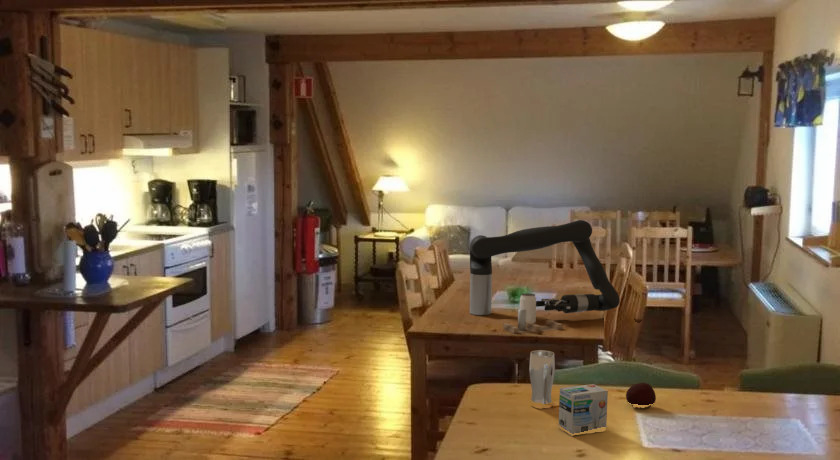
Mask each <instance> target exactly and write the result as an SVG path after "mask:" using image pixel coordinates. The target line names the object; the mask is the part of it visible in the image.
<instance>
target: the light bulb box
mask: <svg viewBox="0 0 840 460" xmlns="http://www.w3.org/2000/svg"><path fill="white" fill-rule="evenodd" d="M608 392H609V391H608V390H606V389H605V388H602V387H600V386H598V385H596V384H594V383H592V384H584V385H577V386H576V385H575V386H569V387H559V402H558V404H559V406H558V407H559V408H558V426H559V425H560V426H561V427H563V428H564V429H565V430H567V431H569V432H570V433H572V434H574V433H580V432H584V431H588V430H592V429H597V428H601V427H606V428H607V421H608V420H607V419H608V418H607V417H608V395H609V393H608Z"/></svg>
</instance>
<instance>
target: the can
mask: <svg viewBox="0 0 840 460" xmlns="http://www.w3.org/2000/svg"><path fill="white" fill-rule="evenodd" d="M536 301H537V297H536V294H535V293H531V292H530V293H528V292H527V293H521V294H520V298H519V309H526V322H532V323H534V324H536V321H537V317H536V316H537V307H536Z"/></svg>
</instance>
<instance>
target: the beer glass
mask: <svg viewBox="0 0 840 460" xmlns="http://www.w3.org/2000/svg"><path fill="white" fill-rule="evenodd" d="M529 355H530V356H529V366H528V367H529V368H528V369H529V380H530V386H531V399H530V401H531V400H532V401H533V402H535V403H542V404H548V403H551V402H552V389H553V384H554V378H555V370H556V369H555V368H556V365H555V364H556V361H555V352H553V351H550V350H544V349H543V350H542V349H538V350H532V351H530V354H529ZM552 403H553V402H552Z"/></svg>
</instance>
